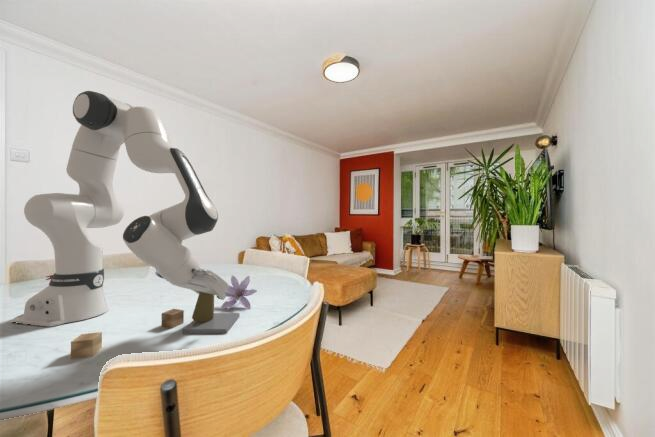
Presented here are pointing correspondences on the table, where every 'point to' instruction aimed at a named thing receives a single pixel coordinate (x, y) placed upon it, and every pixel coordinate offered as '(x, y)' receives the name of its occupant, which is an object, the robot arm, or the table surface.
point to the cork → (204, 308)
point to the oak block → (86, 345)
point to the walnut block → (172, 318)
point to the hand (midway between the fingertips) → (212, 294)
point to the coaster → (213, 324)
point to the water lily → (238, 293)
